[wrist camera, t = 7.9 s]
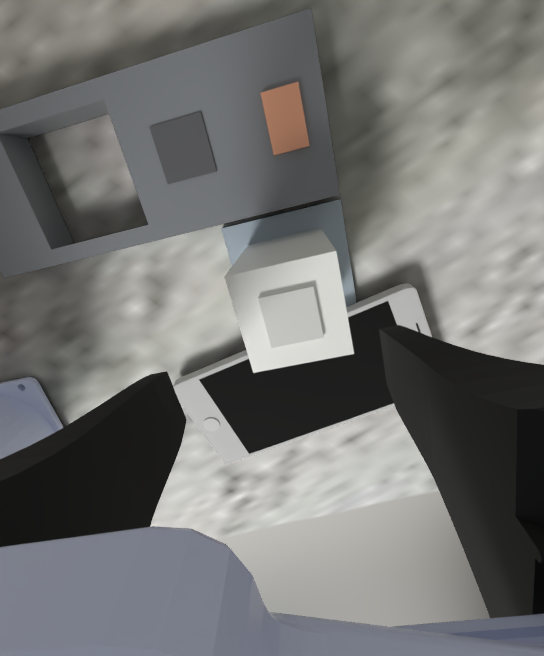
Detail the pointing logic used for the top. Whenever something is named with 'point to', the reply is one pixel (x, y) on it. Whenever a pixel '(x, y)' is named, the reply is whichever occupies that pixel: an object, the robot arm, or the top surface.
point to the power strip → (181, 142)
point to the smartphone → (299, 385)
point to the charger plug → (290, 301)
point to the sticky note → (294, 223)
